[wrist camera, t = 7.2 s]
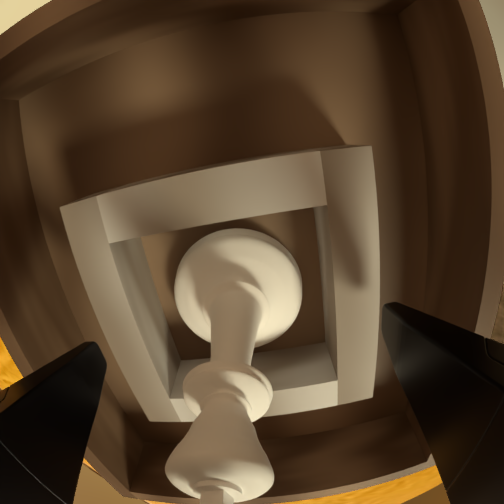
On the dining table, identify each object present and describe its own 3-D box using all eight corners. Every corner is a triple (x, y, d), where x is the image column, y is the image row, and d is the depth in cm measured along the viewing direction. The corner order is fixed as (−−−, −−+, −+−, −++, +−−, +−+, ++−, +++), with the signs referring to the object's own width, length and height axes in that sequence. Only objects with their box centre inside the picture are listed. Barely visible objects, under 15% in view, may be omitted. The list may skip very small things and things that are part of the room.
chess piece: (155, 254, 11) (-6, 488, 2) (278, 208, 11) (369, 514, 1) (206, 352, 13) (164, 579, 4) (316, 320, 12) (380, 566, 3)
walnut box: (401, 5, 9) (461, -40, 4) (411, 405, 16) (438, 463, 11) (16, 91, 10) (-58, 87, 5) (140, 438, 17) (123, 496, 12)
